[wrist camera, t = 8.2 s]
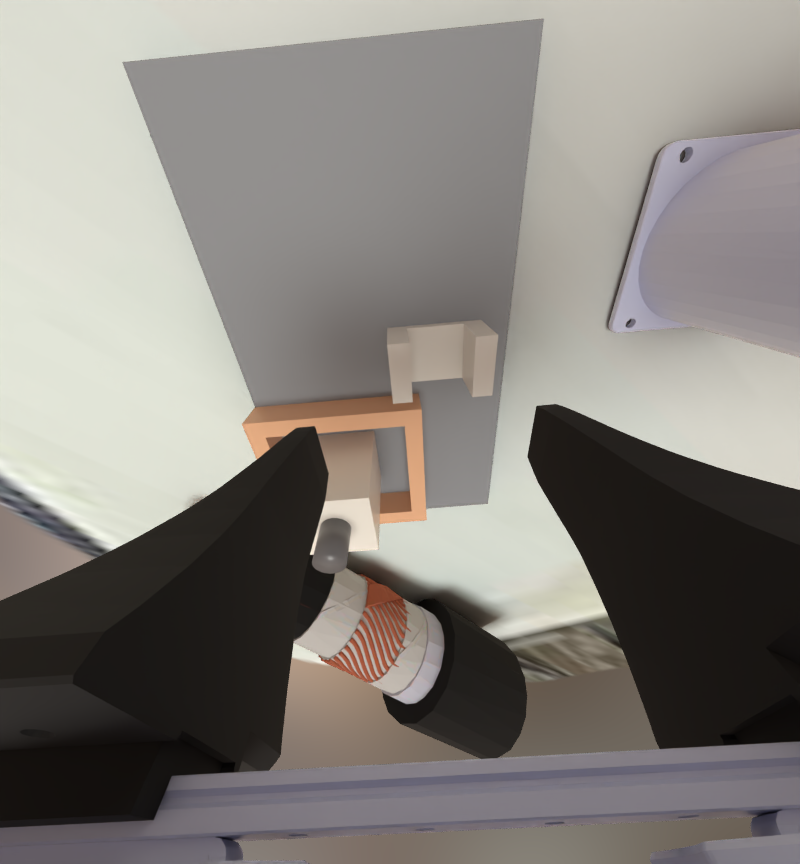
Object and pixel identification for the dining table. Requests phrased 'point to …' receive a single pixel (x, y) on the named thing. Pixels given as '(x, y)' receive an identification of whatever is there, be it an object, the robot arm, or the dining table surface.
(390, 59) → the board
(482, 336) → the clip
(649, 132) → the dining table surface
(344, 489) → the connector
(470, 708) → the cable
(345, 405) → the frame
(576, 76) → the dining table surface
